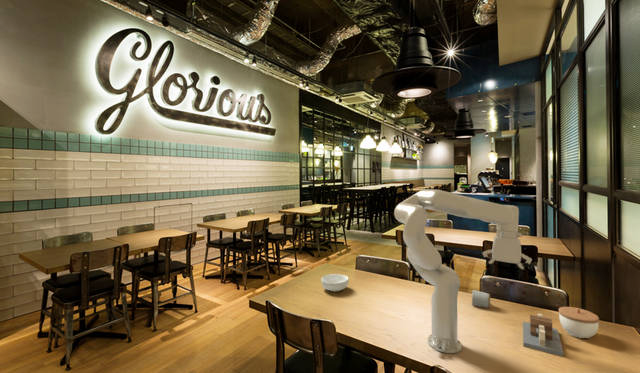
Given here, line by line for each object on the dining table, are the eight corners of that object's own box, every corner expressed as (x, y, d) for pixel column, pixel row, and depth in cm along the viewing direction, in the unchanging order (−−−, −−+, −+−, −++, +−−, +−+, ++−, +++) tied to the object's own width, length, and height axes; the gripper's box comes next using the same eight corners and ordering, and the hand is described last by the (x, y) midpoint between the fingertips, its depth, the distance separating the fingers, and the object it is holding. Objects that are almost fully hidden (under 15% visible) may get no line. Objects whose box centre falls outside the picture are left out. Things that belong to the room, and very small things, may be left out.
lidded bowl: (551, 326, 126) (551, 302, 126) (580, 326, 126) (580, 302, 126) (575, 342, 114) (575, 315, 113) (608, 342, 113) (608, 315, 113)
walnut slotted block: (552, 340, 113) (552, 323, 113) (530, 335, 117) (530, 318, 117) (551, 335, 116) (551, 318, 116) (530, 330, 120) (530, 314, 120)
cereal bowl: (331, 282, 185) (331, 272, 185) (353, 288, 176) (353, 276, 175) (315, 291, 171) (315, 279, 171) (339, 297, 162) (338, 285, 162)
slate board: (563, 356, 105) (563, 352, 105) (523, 346, 112) (523, 342, 112) (557, 332, 121) (557, 329, 121) (522, 324, 128) (522, 321, 128)
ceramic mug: (490, 310, 142) (490, 295, 142) (471, 307, 147) (471, 292, 147) (490, 303, 151) (490, 288, 151) (472, 300, 156) (472, 286, 156)
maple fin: (545, 346, 109) (545, 332, 109) (539, 345, 110) (539, 331, 110) (542, 326, 123) (542, 314, 123) (537, 325, 124) (537, 313, 124)
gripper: (532, 236, 116) (531, 277, 116) (484, 231, 126) (482, 269, 127) (532, 238, 110) (531, 282, 110) (482, 233, 120) (480, 273, 121)
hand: (505, 275), depth 119 cm, fingers open, 9 cm apart
